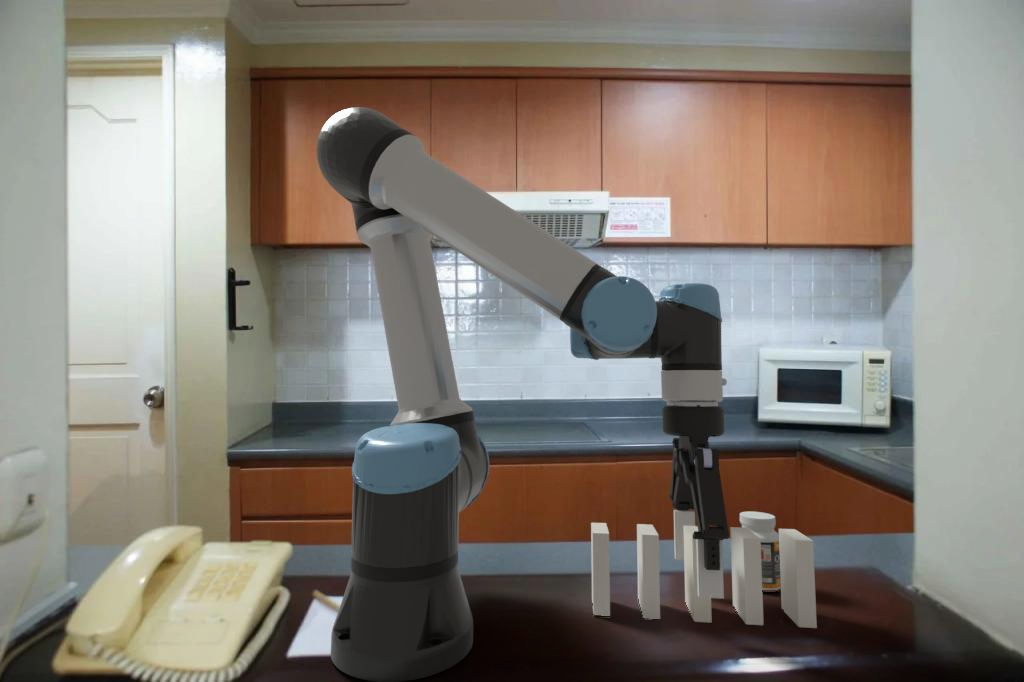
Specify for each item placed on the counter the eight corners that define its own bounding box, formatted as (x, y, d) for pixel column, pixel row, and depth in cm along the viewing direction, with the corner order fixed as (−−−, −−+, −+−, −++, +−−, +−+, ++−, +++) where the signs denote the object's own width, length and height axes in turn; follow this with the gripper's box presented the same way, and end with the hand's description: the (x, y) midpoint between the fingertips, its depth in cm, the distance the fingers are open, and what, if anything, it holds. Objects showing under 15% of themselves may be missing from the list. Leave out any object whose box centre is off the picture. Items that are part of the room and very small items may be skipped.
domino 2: (643, 619, 63) (642, 534, 64) (637, 602, 68) (636, 524, 69) (660, 619, 63) (658, 535, 64) (653, 602, 68) (652, 524, 69)
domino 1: (593, 616, 64) (592, 533, 65) (591, 599, 69) (591, 522, 70) (610, 617, 64) (609, 533, 64) (607, 600, 68) (606, 523, 69)
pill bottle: (788, 596, 70) (785, 521, 71) (743, 592, 71) (740, 518, 72) (775, 580, 76) (773, 511, 77) (734, 577, 77) (732, 509, 78)
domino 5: (798, 627, 61) (795, 540, 62) (781, 609, 66) (778, 528, 67) (816, 628, 61) (813, 540, 62) (798, 609, 66) (794, 529, 67)
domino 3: (694, 621, 62) (692, 536, 63) (685, 604, 67) (683, 525, 68) (711, 622, 62) (709, 537, 63) (701, 605, 67) (699, 526, 68)
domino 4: (746, 624, 62) (743, 538, 63) (732, 606, 67) (730, 527, 68) (763, 625, 62) (760, 538, 62) (748, 607, 67) (746, 527, 67)
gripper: (756, 408, 55) (764, 621, 53) (698, 401, 79) (702, 547, 77) (683, 407, 55) (688, 617, 54) (648, 401, 80) (650, 545, 78)
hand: (696, 576), depth 65 cm, fingers open, 12 cm apart
